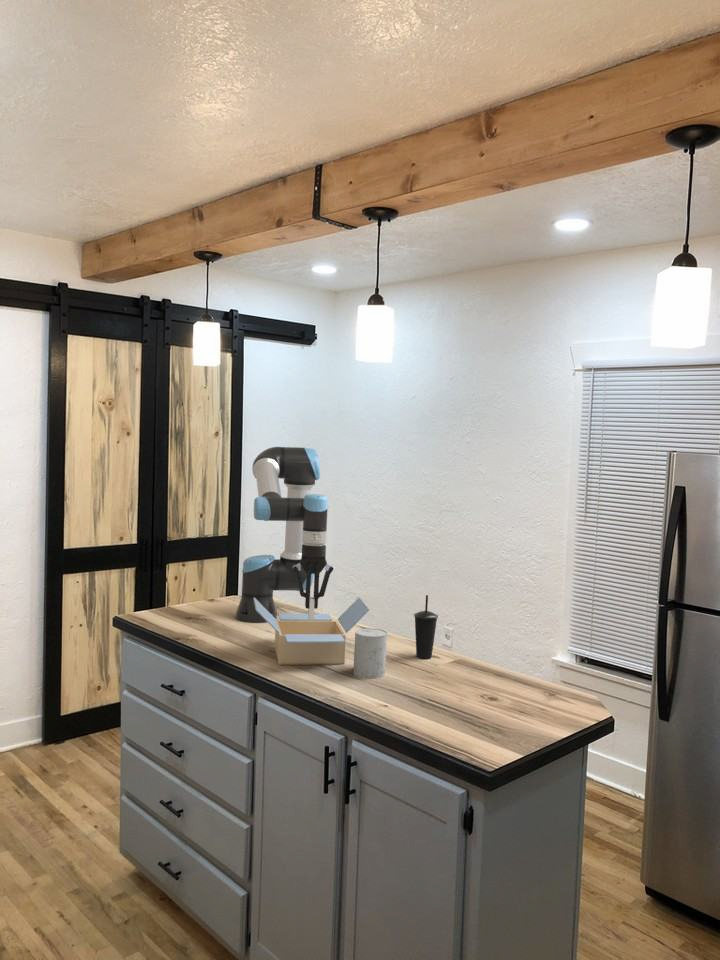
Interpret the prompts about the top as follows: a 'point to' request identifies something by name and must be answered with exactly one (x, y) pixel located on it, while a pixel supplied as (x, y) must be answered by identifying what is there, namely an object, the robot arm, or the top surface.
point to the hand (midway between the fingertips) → (310, 618)
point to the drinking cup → (425, 632)
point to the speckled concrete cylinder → (370, 653)
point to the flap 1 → (266, 615)
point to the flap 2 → (353, 614)
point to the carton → (309, 640)
